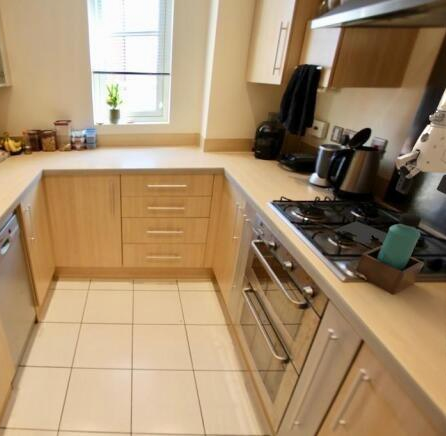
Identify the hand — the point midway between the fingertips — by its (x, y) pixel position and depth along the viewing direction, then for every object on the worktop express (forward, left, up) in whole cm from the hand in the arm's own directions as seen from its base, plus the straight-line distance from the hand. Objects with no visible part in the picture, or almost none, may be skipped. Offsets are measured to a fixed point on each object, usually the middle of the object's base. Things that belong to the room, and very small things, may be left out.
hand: (421, 192), depth 77 cm
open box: (0, 0, -27) cm, 27 cm away
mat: (+16, -20, -27) cm, 37 cm away
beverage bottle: (0, 0, -27) cm, 27 cm away
